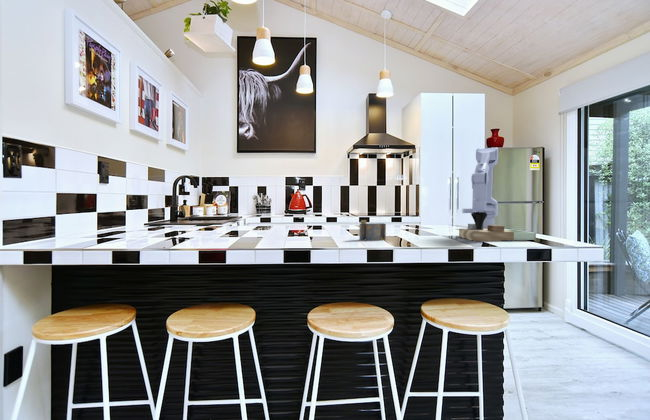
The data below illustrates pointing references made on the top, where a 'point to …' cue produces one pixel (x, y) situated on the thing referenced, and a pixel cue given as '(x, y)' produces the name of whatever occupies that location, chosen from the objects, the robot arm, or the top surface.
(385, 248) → the top surface
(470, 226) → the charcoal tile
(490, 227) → the walnut tile
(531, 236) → the bin
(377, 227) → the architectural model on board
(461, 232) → the oak bench
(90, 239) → the top surface
